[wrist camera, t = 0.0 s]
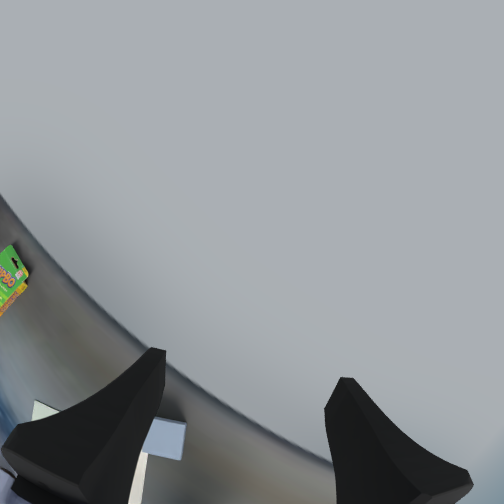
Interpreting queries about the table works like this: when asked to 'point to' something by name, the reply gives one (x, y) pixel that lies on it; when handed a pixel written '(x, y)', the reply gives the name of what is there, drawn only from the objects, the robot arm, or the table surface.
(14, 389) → the table surface
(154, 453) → the cube
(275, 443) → the table surface
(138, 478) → the letter
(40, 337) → the table surface
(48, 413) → the mat
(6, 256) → the game box
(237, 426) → the table surface
